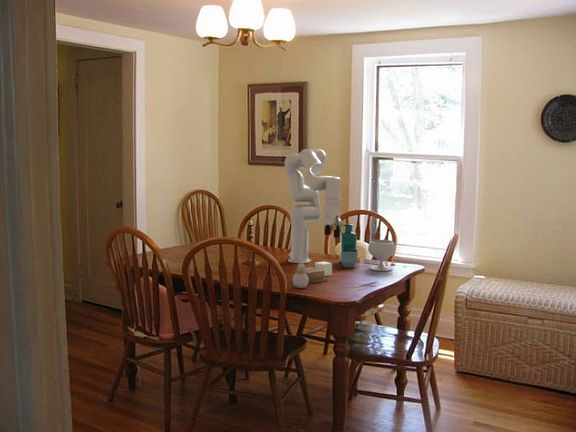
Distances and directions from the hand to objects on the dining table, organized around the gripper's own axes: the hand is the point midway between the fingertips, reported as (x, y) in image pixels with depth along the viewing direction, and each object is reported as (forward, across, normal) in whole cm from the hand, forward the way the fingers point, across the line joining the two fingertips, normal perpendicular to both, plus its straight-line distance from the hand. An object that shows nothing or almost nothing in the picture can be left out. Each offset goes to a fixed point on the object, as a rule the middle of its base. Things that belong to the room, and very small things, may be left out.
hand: (332, 236), depth 307 cm
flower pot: (+20, -15, +19) cm, 31 cm away
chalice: (+20, -4, +32) cm, 37 cm away
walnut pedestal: (+20, +7, -15) cm, 26 cm away
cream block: (+20, -3, -3) cm, 20 cm away
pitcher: (+20, -27, +24) cm, 41 cm away
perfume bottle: (+20, +20, -26) cm, 39 cm away
